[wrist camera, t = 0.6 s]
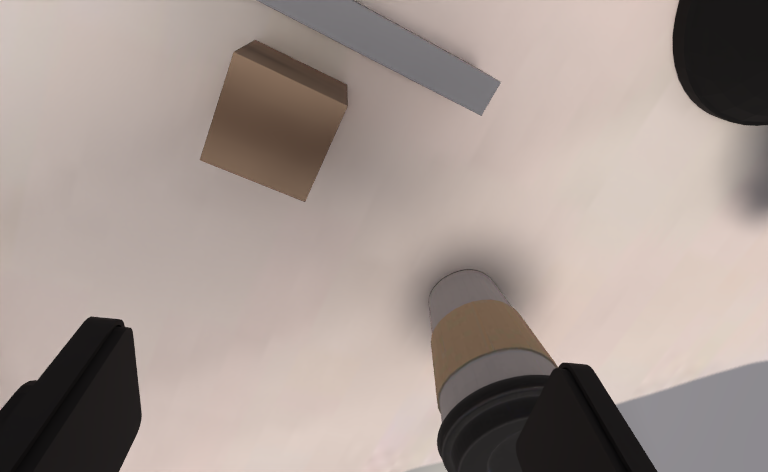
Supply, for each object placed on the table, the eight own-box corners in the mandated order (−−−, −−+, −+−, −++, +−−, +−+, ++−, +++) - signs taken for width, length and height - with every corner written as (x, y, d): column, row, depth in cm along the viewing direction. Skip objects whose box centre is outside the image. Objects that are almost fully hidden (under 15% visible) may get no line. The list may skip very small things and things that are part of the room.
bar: (460, 97, 29) (481, 115, 25) (142, -69, 24) (97, -82, 19) (476, 67, 28) (501, 82, 24) (151, -111, 23) (105, -135, 18)
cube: (311, 167, 31) (304, 203, 26) (225, 130, 29) (199, 161, 24) (347, 84, 28) (347, 106, 23) (255, 39, 27) (233, 52, 21)
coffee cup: (388, 318, 38) (411, 493, 25) (449, 231, 34) (514, 382, 21) (477, 354, 40) (540, 527, 27) (542, 277, 37) (651, 435, 24)
